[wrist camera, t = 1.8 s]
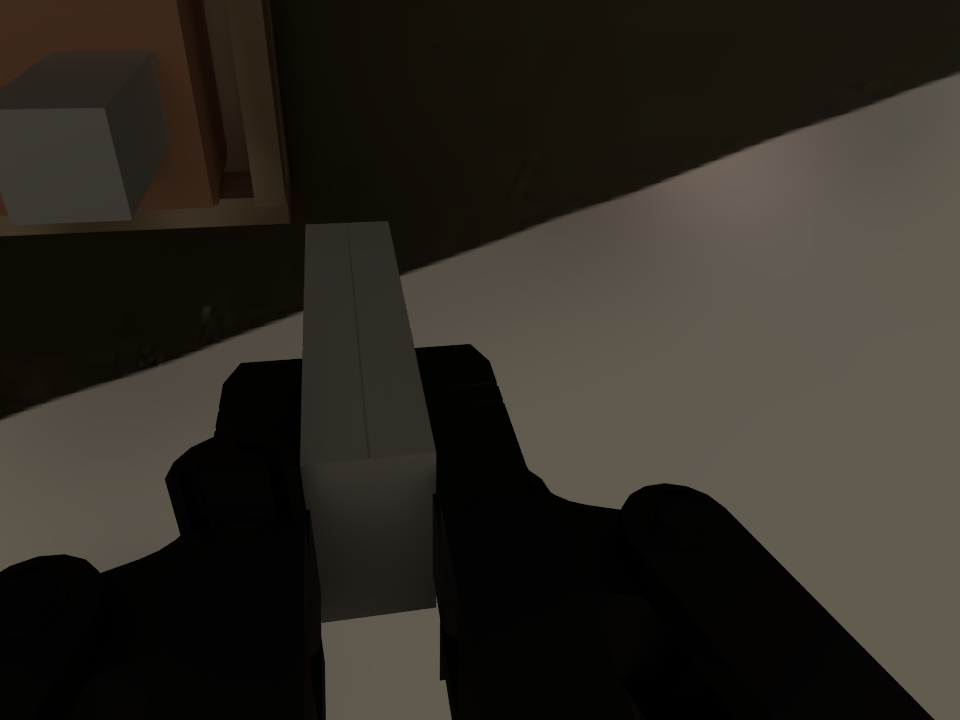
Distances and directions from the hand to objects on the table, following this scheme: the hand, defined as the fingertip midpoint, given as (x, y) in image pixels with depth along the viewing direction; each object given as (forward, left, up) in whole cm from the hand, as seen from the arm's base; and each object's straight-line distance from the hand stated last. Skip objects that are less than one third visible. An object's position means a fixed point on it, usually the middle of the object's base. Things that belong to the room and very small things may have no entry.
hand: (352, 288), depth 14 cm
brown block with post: (-9, 0, -20) cm, 22 cm away
